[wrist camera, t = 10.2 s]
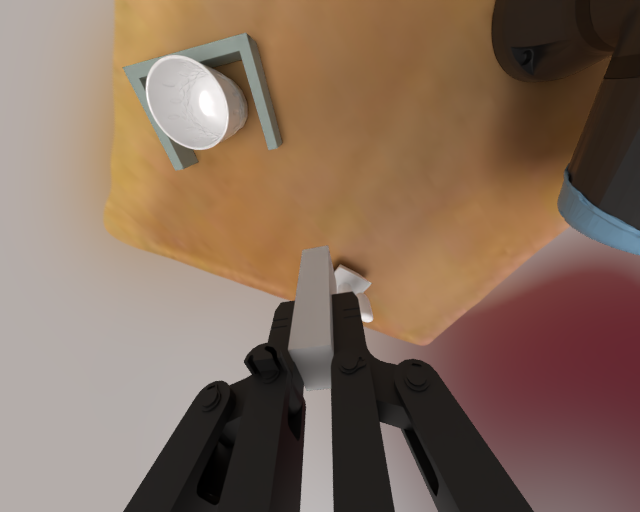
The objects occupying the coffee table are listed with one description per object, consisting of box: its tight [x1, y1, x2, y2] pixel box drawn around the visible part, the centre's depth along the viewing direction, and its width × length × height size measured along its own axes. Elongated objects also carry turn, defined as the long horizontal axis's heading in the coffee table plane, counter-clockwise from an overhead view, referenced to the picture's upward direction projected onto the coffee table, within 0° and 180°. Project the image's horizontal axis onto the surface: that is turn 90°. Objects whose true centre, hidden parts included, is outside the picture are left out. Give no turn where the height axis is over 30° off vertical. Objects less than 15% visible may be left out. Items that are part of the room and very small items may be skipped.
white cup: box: [146, 55, 248, 150], centre depth 27 cm, size 8×8×10 cm
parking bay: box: [123, 33, 282, 170], centre depth 30 cm, size 14×11×4 cm
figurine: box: [334, 264, 373, 322], centre depth 41 cm, size 7×9×15 cm
